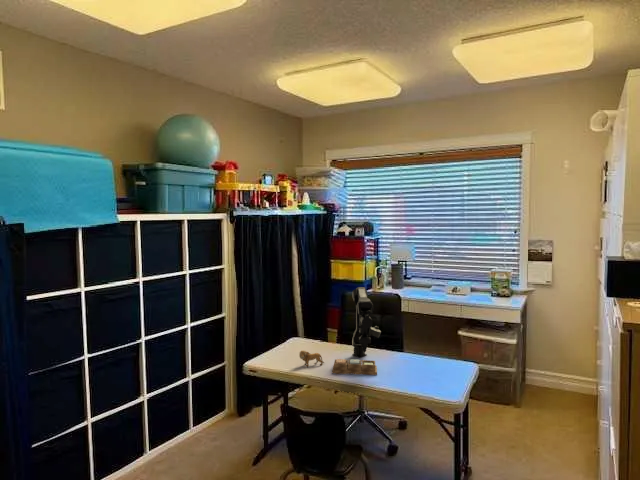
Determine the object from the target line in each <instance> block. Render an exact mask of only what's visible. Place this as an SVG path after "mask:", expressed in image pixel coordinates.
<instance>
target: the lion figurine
mask: <svg viewBox="0 0 640 480" xmlns="http://www.w3.org/2000/svg"><path fill="white" fill-rule="evenodd" d="M298 357H299V359H300V360H302V361H303V362H304V364H306V365H305V366H306V367H309V363H310V361H314V360H316V361H315V362H314V365H317V364H318V363H320V364H319V365H320V366H323V364H324V363H325V362H324V361H323V357H322V355H321V354H320V353H319V352H315V353H310V352H309V351H306V350H301V351H299V356H298Z"/></svg>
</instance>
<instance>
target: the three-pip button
mask: <svg viewBox="0 0 640 480" xmlns="http://www.w3.org/2000/svg"><path fill="white" fill-rule="evenodd" d="M335 360H336V364H346V360H347V359H346V358H345V359H344V358H336V359H335Z"/></svg>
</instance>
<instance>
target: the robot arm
mask: <svg viewBox="0 0 640 480" xmlns="http://www.w3.org/2000/svg"><path fill="white" fill-rule="evenodd" d="M351 293H352V294H351V295H352V296H351V297H352V299H353V302H354V304H355V309H356V311H355V313H356V315H355V316H356V317H355V318H356V319H355V330H354V332H353V336H352V340H351V344H352V347H353V353H352V354H351V355H352V356H354V357H357V358H362V357H366V356H368V354H366V352H367V348H368V346H369V345H368V344H372V338H371V337H372V336H374V337H375V338H378V339H379V338H380V336H381V334H382V331H381V330H380V329H379V326H377V325H375V326H373V323H374V322H373V319H372V318H371V315H374V312H375V311H374V309H375V308H374V304H373V302H372V300H371V299H370V298H368V290H367V289H366V287H364V286H358V287H356V288H355V289H354V290H352V292H351ZM372 326H373V327H372Z"/></svg>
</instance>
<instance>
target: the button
mask: <svg viewBox="0 0 640 480" xmlns="http://www.w3.org/2000/svg"><path fill="white" fill-rule="evenodd" d="M349 360H350V364H359V360H360V359H349Z"/></svg>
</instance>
